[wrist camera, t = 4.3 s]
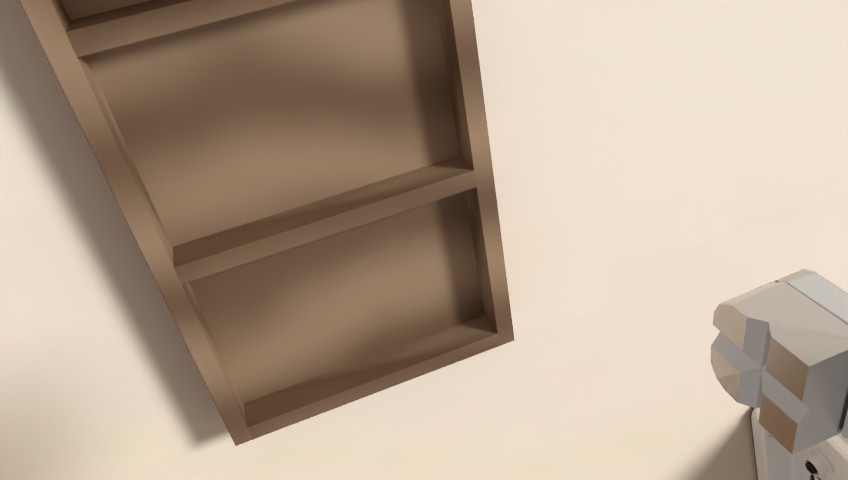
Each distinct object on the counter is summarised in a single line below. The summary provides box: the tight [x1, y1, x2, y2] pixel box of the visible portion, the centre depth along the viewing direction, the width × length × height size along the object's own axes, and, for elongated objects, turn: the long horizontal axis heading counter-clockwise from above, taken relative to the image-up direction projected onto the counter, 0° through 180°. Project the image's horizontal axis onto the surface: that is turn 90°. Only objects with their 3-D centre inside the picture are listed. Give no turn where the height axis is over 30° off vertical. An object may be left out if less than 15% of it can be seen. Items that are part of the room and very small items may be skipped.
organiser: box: [20, 0, 514, 446], centre depth 26 cm, size 28×14×2 cm, turn 10°
